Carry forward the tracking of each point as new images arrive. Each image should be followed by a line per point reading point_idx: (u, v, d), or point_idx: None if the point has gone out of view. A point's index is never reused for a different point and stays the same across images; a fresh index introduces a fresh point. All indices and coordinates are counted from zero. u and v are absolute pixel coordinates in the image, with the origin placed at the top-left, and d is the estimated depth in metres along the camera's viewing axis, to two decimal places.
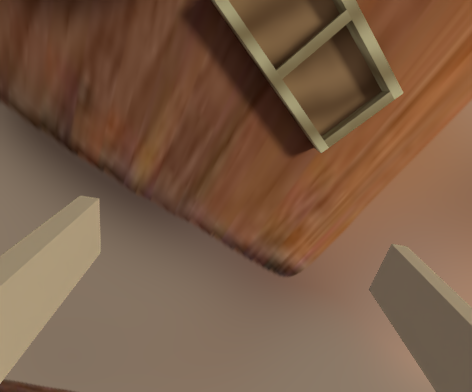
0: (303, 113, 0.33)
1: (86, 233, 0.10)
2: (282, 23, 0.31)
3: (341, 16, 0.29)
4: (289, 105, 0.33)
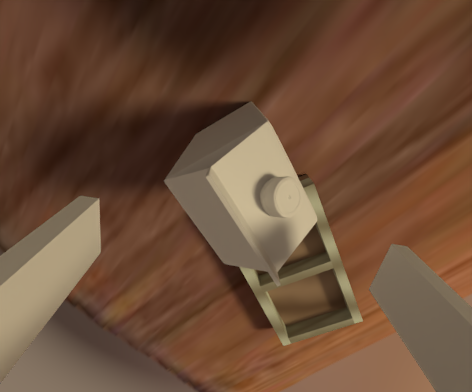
0: (275, 317, 0.36)
1: (86, 233, 0.10)
2: None
3: (325, 264, 0.33)
4: (264, 310, 0.36)
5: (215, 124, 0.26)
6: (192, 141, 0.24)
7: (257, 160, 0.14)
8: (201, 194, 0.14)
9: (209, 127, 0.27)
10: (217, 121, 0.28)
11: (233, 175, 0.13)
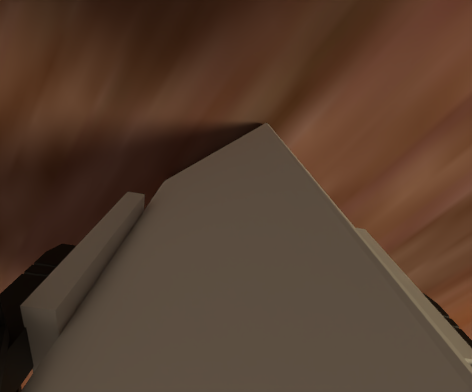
0: None
1: None
2: None
3: None
4: None
5: (197, 171, 0.13)
6: (143, 216, 0.11)
7: None
8: None
9: (186, 174, 0.14)
10: (202, 160, 0.15)
11: None
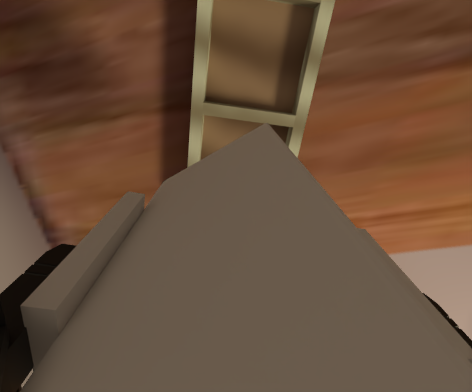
0: (196, 160, 0.29)
1: None
2: (244, 70, 0.27)
3: (288, 116, 0.27)
4: (190, 142, 0.28)
5: (197, 170, 0.13)
6: (143, 216, 0.11)
7: None
8: None
9: (186, 174, 0.14)
10: (202, 160, 0.15)
11: None
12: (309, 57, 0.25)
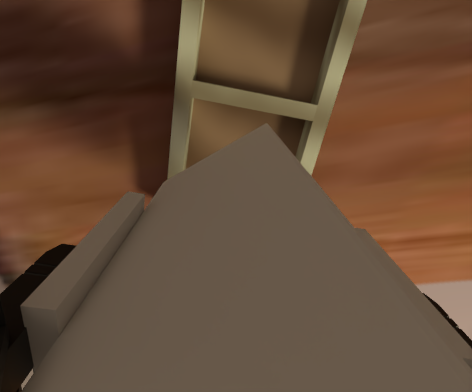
0: (181, 160, 0.22)
1: None
2: (251, 40, 0.20)
3: (307, 105, 0.20)
4: (172, 135, 0.21)
5: (196, 171, 0.13)
6: (143, 217, 0.11)
7: None
8: None
9: (185, 175, 0.14)
10: (202, 161, 0.15)
11: None
12: (343, 23, 0.18)
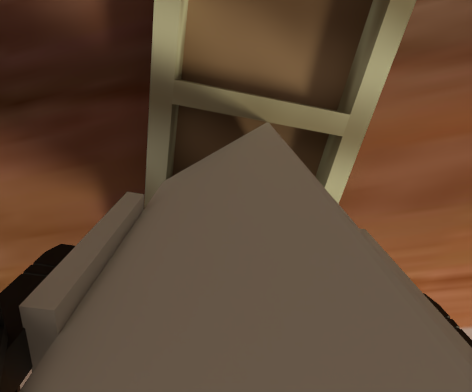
0: None
1: None
2: (257, 24, 0.14)
3: (335, 115, 0.14)
4: (149, 155, 0.15)
5: (196, 171, 0.13)
6: (141, 218, 0.11)
7: None
8: None
9: (185, 175, 0.13)
10: (202, 161, 0.14)
11: None
12: None
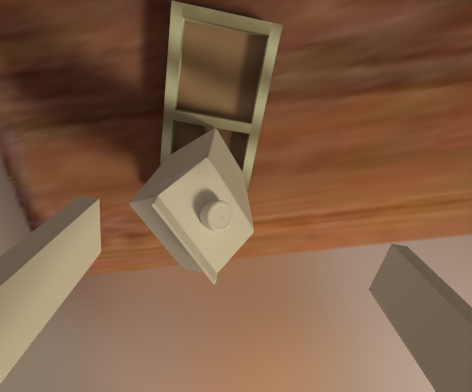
0: None
1: (86, 233, 0.10)
2: (210, 85, 0.32)
3: (245, 124, 0.32)
4: (162, 143, 0.33)
5: (183, 148, 0.31)
6: (162, 164, 0.29)
7: (197, 188, 0.18)
8: (155, 214, 0.18)
9: (179, 150, 0.31)
10: (186, 145, 0.32)
11: (176, 201, 0.17)
12: (261, 77, 0.30)
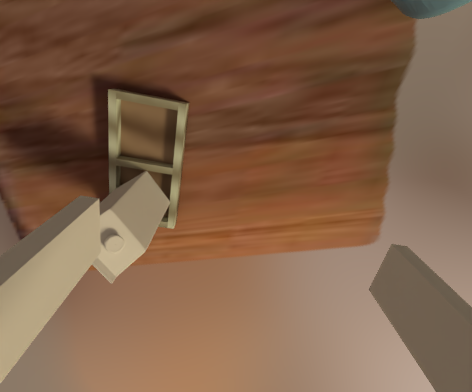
0: None
1: (86, 233, 0.10)
2: (143, 139, 0.45)
3: (168, 168, 0.45)
4: (109, 180, 0.46)
5: (121, 186, 0.44)
6: (104, 199, 0.42)
7: (102, 227, 0.31)
8: None
9: (119, 187, 0.44)
10: (126, 182, 0.45)
11: None
12: (176, 137, 0.43)
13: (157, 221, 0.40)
